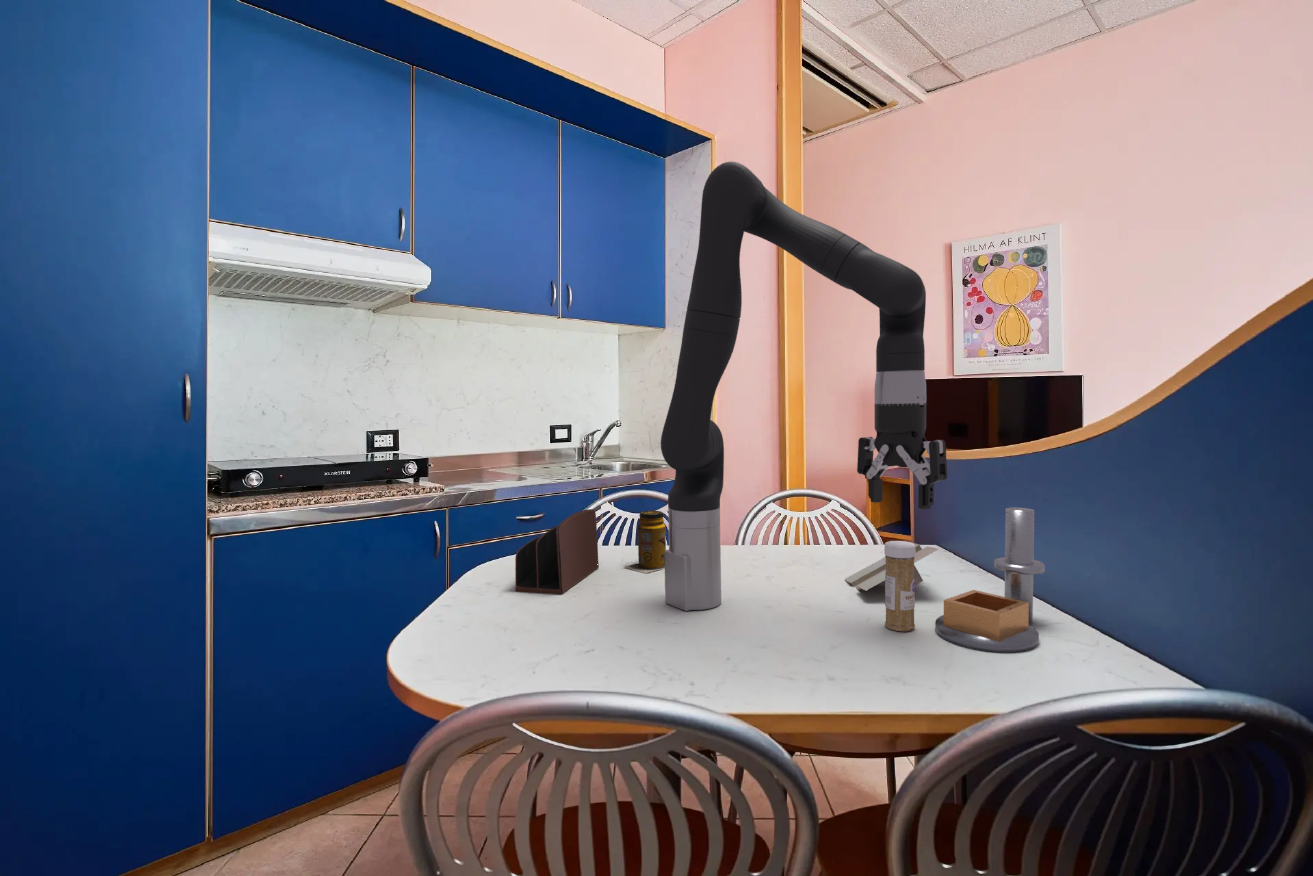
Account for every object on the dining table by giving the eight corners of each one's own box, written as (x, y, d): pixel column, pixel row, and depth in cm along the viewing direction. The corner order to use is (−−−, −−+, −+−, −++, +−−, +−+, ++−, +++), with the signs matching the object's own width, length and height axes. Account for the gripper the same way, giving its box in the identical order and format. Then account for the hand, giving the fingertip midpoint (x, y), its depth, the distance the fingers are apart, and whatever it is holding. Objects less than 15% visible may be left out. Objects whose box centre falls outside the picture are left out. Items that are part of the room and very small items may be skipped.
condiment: (674, 566, 145) (673, 511, 145) (646, 574, 140) (645, 517, 139) (651, 560, 151) (650, 508, 150) (623, 568, 145) (622, 513, 144)
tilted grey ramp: (899, 628, 116) (962, 570, 116) (864, 590, 117) (926, 532, 117) (873, 612, 132) (929, 561, 132) (843, 579, 133) (897, 528, 133)
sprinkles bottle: (916, 633, 102) (916, 546, 101) (884, 631, 103) (884, 545, 102) (914, 623, 106) (914, 540, 105) (883, 621, 108) (884, 539, 107)
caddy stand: (1008, 660, 91) (1010, 530, 90) (916, 632, 102) (917, 516, 101) (1075, 628, 103) (1078, 512, 102) (986, 606, 114) (987, 502, 113)
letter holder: (599, 569, 145) (597, 504, 144) (562, 596, 126) (560, 522, 125) (556, 566, 147) (555, 503, 146) (514, 592, 128) (512, 520, 127)
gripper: (846, 402, 106) (847, 502, 107) (928, 401, 95) (927, 514, 96) (875, 401, 111) (876, 497, 112) (957, 400, 99) (956, 508, 100)
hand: (899, 505), depth 104 cm, fingers open, 8 cm apart
